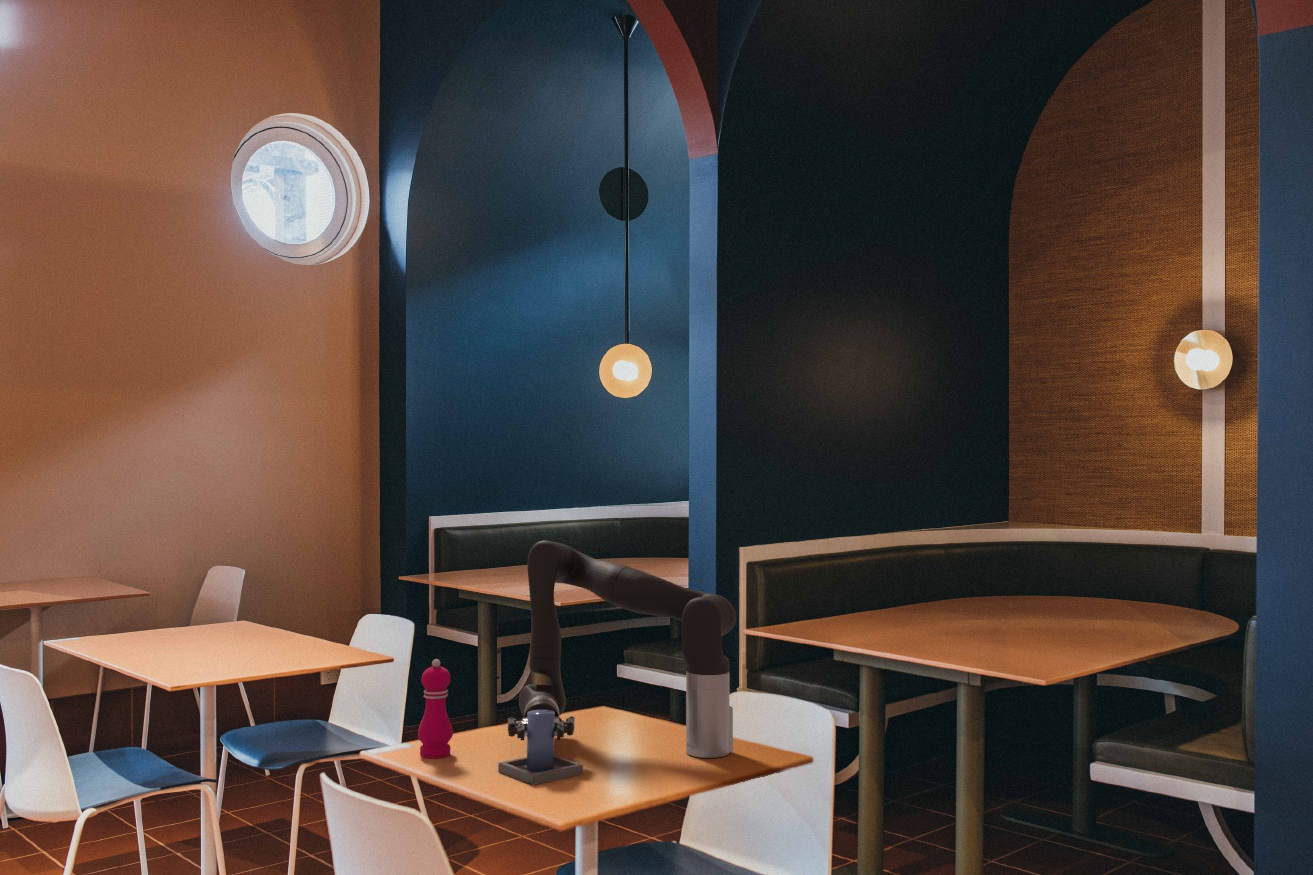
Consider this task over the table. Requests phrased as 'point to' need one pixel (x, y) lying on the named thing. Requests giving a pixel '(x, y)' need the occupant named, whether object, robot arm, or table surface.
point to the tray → (520, 772)
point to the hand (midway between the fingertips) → (540, 734)
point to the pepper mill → (435, 713)
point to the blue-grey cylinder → (540, 740)
